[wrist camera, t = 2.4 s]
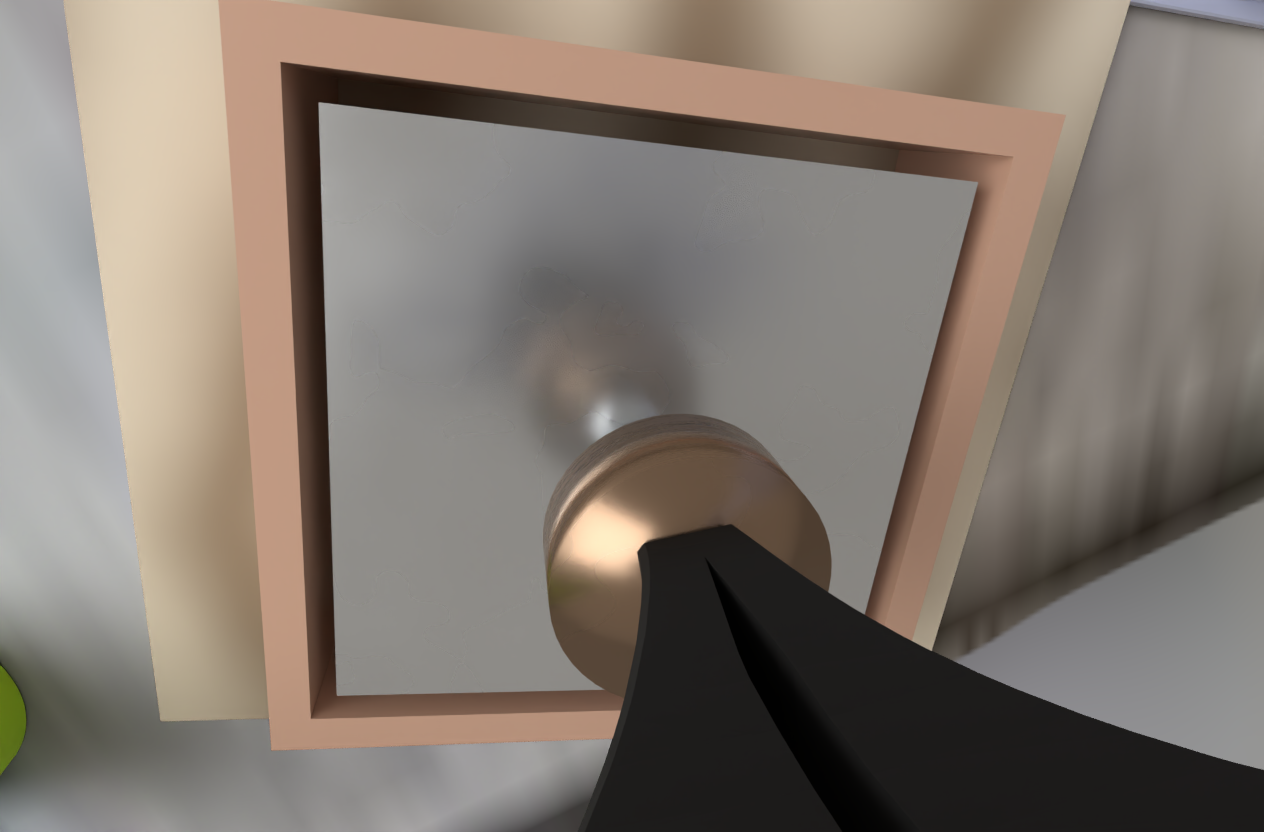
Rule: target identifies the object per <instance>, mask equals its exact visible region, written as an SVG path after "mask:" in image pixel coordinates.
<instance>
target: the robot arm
mask: <svg viewBox="0 0 1264 832" xmlns="http://www.w3.org/2000/svg"><path fill="white" fill-rule="evenodd" d="M1129 5H1132V6H1138V7H1143V8H1149V9H1155V10H1160V11H1166V12H1171V13H1177V14H1182V15H1188V16H1193V17H1199V18H1205V19H1210V20H1216V21H1221V22H1227V23H1232V24H1238V25H1243V26H1249V27H1255V28H1260V29H1264V0H1131V1H1130V4H1129ZM637 555H638V561H639V567H640V573H641V579H642V593H641V608H640V616H639V624H638V633H637V640H636V646H635V652H634V656H633V661H632V666H631V670H630V675H629V679H628V684H627V689H626V693H625V697H624V701H623V705H622V708H621V712H620V716H619V719H618V723H617V726H616V729H615V733H614V736H613V739H612V742H611V745H610V748H609V751H608V754H607V757H606V760H605V763H604V766H603V769H602V771H601V774H600V776H599V779H598V782H597V784H596V787H595V790H594V792H593V795H592V797H591V800H590V803H589V805H588V808H587V810H586V813H585V815H584V818H583V820H582V823H581V825H580V827H579V830H578V832H1264V770H1261V769H1257V768H1253V767H1250V766H1246V765H1241V764H1238V763H1233V762H1230V761H1227V760H1223V759H1220V758H1216V757H1213V756H1209V755H1206V754H1203V753H1199V752H1196V751H1193V750H1190V749H1187V748H1183V747H1180V746H1177V745H1173V744H1170V743H1167V742H1164V741H1160V740H1157V739H1154V738H1151V737H1147V736H1145V735H1141V734H1138V733H1134V732H1132V731H1129V730H1126V729H1123V728H1120V727H1117V726H1114V725H1111V724H1108V723H1105V722H1103V721H1100V720H1097V719H1094V718H1091V717H1088V716H1085V715H1082V714H1080V713H1077V712H1074V711H1072V710H1069V709H1067V708H1064V707H1061V706H1059V705H1056V704H1054V703H1051V702H1048V701H1046V700H1043V699H1041V698H1038V697H1035V696H1033V695H1030V694H1028V693H1025V692H1023V691H1020V690H1017V689H1014V688H1012V687H1010V686H1008V685H1005V684H1003V683H1001V682H998V681H996V680H994V679H991V678H989V677H986V676H984V675H982V674H980V673H977V672H975V671H973V670H971V669H969V668H967V667H965V666H963V665H960V664H958V663H956V662H954V661H952V660H950V659H948V658H946V657H944V656H941V655H939V654H937V653H935V652H933V651H931V650H929V649H927V648H925V647H923V646H921V645H919V644H917V643H915V642H913V641H911V640H909V639H907V638H905V637H903V636H902V635H900V634H898V633H896V632H894V631H893V630H891V629H889V628H887V627H886V626H884V625H882V624H880V623H879V622H877V621H875V620H873V619H871V618H870V617H868V616H866V615H864V614H863V613H861V612H859V611H857V610H856V609H854V608H853V607H851V606H849V605H848V604H846V603H844V602H843V601H841V600H840V599H838V598H837V597H835V596H833V595H832V594H830V593H829V592H827V591H826V590H824V589H823V588H821V587H820V586H818V585H817V584H815V583H814V582H812V581H811V580H809V579H808V578H806V577H805V576H803V575H802V574H800V573H799V572H798V571H796V570H795V569H793V568H792V567H790V566H789V565H788V564H786V563H785V562H783V561H782V560H781V559H779V558H778V557H776V556H775V555H774V554H772V553H771V552H770V551H768V550H767V549H765V548H764V547H763V546H761V545H760V544H759V543H757V542H756V541H755V540H753V539H752V538H750V537H749V536H748V535H746V534H745V533H743V532H742V531H741V530H739V529H738V528H736V527H735V526H733V525H732V524H729V525H724V526H720V527H715V528H710V529H706V530H701V531H697V532H692V533H687V534H683V535H678V536H674V537H669V538H664V539H660V540H655V541H650V542H646V543H644V544H643V545H642V546H641V547H640V549H639V550H638V551H637Z"/></svg>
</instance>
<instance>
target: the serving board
mask: <svg viewBox="0 0 1264 832" xmlns="http://www.w3.org/2000/svg"><path fill="white" fill-rule="evenodd" d="M63 1H64V8H65V16H66V23H67V31H68V38H69V45H70V53H71V60H72V68H73V75H74V82H75V90H76V97H77V105H78V112H79V120H80V127H81V134H82V142H83V149H84V157H85V164H86V172H87V179H88V186H89V194H90V201H91V209H92V216H93V224H94V231H95V238H96V246H97V253H98V261H99V268H100V276H101V283H102V290H103V298H104V305H105V313H106V320H107V328H108V335H109V342H110V350H111V357H112V365H113V372H114V379H115V387H116V394H117V402H118V409H119V417H120V424H121V431H122V439H123V446H124V454H125V461H126V469H127V476H128V483H129V491H130V498H131V506H132V513H133V521H134V528H135V535H136V543H137V550H138V558H139V565H140V573H141V580H142V587H143V595H144V602H145V610H146V617H147V625H148V632H149V639H150V647H151V654H152V662H153V669H154V676H155V684H156V691H157V699H158V706H159V714H160V721H197V720H233V719H269V710H268V696H267V682H266V667H265V653H264V639H263V625H262V611H261V597H260V583H259V569H258V554H257V540H256V526H255V512H254V498H253V484H252V470H251V455H250V441H249V427H248V413H247V399H246V385H245V371H244V356H243V342H242V328H241V314H240V300H239V286H238V272H237V258H236V243H235V229H234V215H233V201H232V187H231V173H230V159H229V144H228V130H227V116H226V102H225V88H224V74H223V60H222V45H221V31H220V17H219V3H218V0H63ZM271 1H278V2H285V3H292V4H299V5H306V6H313V7H320V8H327V9H334V10H341V11H348V12H355V13H362V14H369V15H375V16H382V17H389V18H396V19H403V20H410V21H417V22H424V23H431V24H438V25H445V26H452V27H459V28H466V29H473V30H480V31H487V32H493V33H500V34H507V35H514V36H521V37H528V38H535V39H542V40H549V41H556V42H563V43H570V44H577V45H584V46H591V47H598V48H604V49H611V50H618V51H625V52H632V53H639V54H646V55H653V56H660V57H667V58H674V59H681V60H688V61H695V62H702V63H709V64H716V65H722V66H729V67H736V68H743V69H750V70H757V71H764V72H771V73H778V74H785V75H792V76H799V77H806V78H813V79H820V80H827V81H833V82H840V83H847V84H854V85H861V86H868V87H875V88H882V89H889V90H896V91H903V92H910V93H917V94H924V95H931V96H938V97H945V98H951V99H958V100H965V101H972V102H979V103H986V104H993V105H1000V106H1007V107H1014V108H1021V109H1028V110H1035V111H1042V112H1049V113H1056V114H1062V115H1066V117H1065V120H1064V124H1063V127H1062V130H1061V134H1060V137H1059V141H1058V144H1057V147H1056V151H1055V154H1054V158H1053V161H1052V165H1051V168H1050V171H1049V175H1048V178H1047V182H1046V185H1045V188H1044V192H1043V195H1042V199H1041V202H1040V205H1039V209H1038V212H1037V216H1036V219H1035V223H1034V226H1033V229H1032V233H1031V236H1030V240H1029V243H1028V246H1027V250H1026V253H1025V257H1024V260H1023V263H1022V267H1021V270H1020V274H1019V277H1018V281H1017V284H1016V287H1015V291H1014V294H1013V298H1012V301H1011V304H1010V308H1009V311H1008V315H1007V318H1006V321H1005V325H1004V328H1003V332H1002V335H1001V339H1000V342H999V345H998V349H997V352H996V356H995V359H994V362H993V366H992V369H991V373H990V376H989V379H988V383H987V386H986V390H985V393H984V397H983V400H982V403H981V407H980V410H979V414H978V417H977V420H976V424H975V427H974V431H973V434H972V437H971V441H970V444H969V448H968V451H967V455H966V458H965V461H964V465H963V468H962V472H961V475H960V478H959V482H958V485H957V489H956V492H955V495H954V499H953V502H952V506H951V509H950V513H949V516H948V519H947V523H946V526H945V530H944V533H943V536H942V540H941V543H940V547H939V550H938V553H937V557H936V560H935V564H934V567H933V571H932V574H931V577H930V581H929V584H928V588H927V591H926V594H925V598H924V601H923V605H922V608H921V611H920V615H919V618H918V622H917V625H916V628H915V632H914V635H913V639H912V641H913V642H915V643H917V644H919V645H921V646H923V647H925V648H927V649H929V650H931V651H932V648H933V645H934V641H935V638H936V635H937V632H938V628H939V625H940V622H941V618H942V615H943V612H944V609H945V605H946V602H947V599H948V596H949V592H950V589H951V586H952V583H953V579H954V576H955V573H956V569H957V566H958V563H959V560H960V556H961V553H962V550H963V547H964V543H965V540H966V537H967V533H968V530H969V527H970V524H971V520H972V517H973V514H974V511H975V507H976V504H977V501H978V498H979V494H980V491H981V488H982V484H983V481H984V478H985V475H986V471H987V468H988V465H989V462H990V458H991V455H992V452H993V449H994V445H995V442H996V439H997V435H998V432H999V429H1000V426H1001V422H1002V419H1003V416H1004V413H1005V409H1006V406H1007V403H1008V399H1009V396H1010V393H1011V390H1012V386H1013V383H1014V380H1015V377H1016V373H1017V370H1018V367H1019V364H1020V360H1021V357H1022V354H1023V350H1024V347H1025V344H1026V341H1027V337H1028V334H1029V331H1030V328H1031V324H1032V321H1033V318H1034V314H1035V311H1036V308H1037V305H1038V301H1039V298H1040V295H1041V292H1042V288H1043V285H1044V282H1045V279H1046V275H1047V272H1048V269H1049V265H1050V262H1051V259H1052V256H1053V252H1054V249H1055V246H1056V243H1057V239H1058V236H1059V233H1060V230H1061V226H1062V223H1063V220H1064V216H1065V213H1066V210H1067V207H1068V203H1069V200H1070V197H1071V194H1072V190H1073V187H1074V184H1075V180H1076V177H1077V174H1078V171H1079V167H1080V164H1081V161H1082V158H1083V154H1084V151H1085V148H1086V145H1087V141H1088V138H1089V135H1090V131H1091V128H1092V125H1093V122H1094V118H1095V115H1096V112H1097V109H1098V105H1099V102H1100V99H1101V95H1102V92H1103V89H1104V86H1105V82H1106V79H1107V76H1108V73H1109V69H1110V66H1111V63H1112V60H1113V56H1114V53H1115V50H1116V46H1117V43H1118V40H1119V37H1120V33H1121V30H1122V27H1123V24H1124V20H1125V17H1126V14H1127V10H1128V7H1129V4H1130V1H1131V0H271ZM338 105H345V106H353V107H362V108H370V109H378V110H386V111H395V112H403V113H411V114H419V115H428V116H436V117H444V118H452V119H461V120H469V121H477V122H485V123H494V124H502V125H510V126H518V127H527V128H535V129H543V130H551V131H560V132H568V133H576V134H584V135H593V136H601V137H609V138H617V139H626V140H634V141H642V142H650V143H659V144H667V145H675V146H684V147H692V148H700V149H708V150H717V151H725V152H733V153H741V154H750V155H758V156H766V157H774V158H783V159H791V160H799V161H807V162H816V163H824V164H832V165H840V166H849V167H857V168H865V169H873V170H882V171H890V172H895V168H896V163H897V159H898V154H899V150H896V149H888V148H881V147H873V146H865V145H857V144H849V143H841V142H834V141H826V140H818V139H810V138H802V137H794V136H786V135H779V134H771V133H763V132H755V131H747V130H739V129H732V128H724V127H716V126H708V125H700V124H692V123H685V122H677V121H669V120H661V119H653V118H645V117H637V116H630V115H622V114H614V113H606V112H598V111H590V110H583V109H575V108H567V107H559V106H551V105H543V104H536V103H528V102H520V101H512V100H504V99H496V98H488V97H481V96H473V95H465V94H457V93H449V92H441V91H434V90H426V89H418V88H410V87H402V86H394V85H387V84H379V83H371V82H363V81H355V80H347V79H340V78H338Z"/></svg>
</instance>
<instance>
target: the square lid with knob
mask: <svg viewBox="0 0 1264 832" xmlns="http://www.w3.org/2000/svg"><path fill="white" fill-rule="evenodd" d="M319 135H320V167H321V200H322V233H323V265H324V298H325V330H326V363H327V396H328V428H329V461H330V494H331V526H332V559H333V591H334V624H335V657H336V689H337V696H348V695H392V694H437V693H481V692H525V691H570V690H606V691H608V692H610V693H612V694H615V695H617V696H620V697H622V698H624V697H625V693H626V689H627V684H628V679H629V675H630V670H631V666H632V661H633V656H634V652H635V646H636V640H637V633H638V624H639V616H640V608H641V593H642V579H641V573H640V567H639V561H638V555H637V551H638V550H639V549H640V547H641V546H642V545H643V544H644V543H646V542H650V541H655V540H660V539H664V538H669V537H674V536H678V535H683V534H687V533H692V532H697V531H701V530H706V529H710V528H715V527H720V526H724V525H729V524H732V525H733V526H735V527H736V528H738V529H739V530H741V531H742V532H743V533H745V534H746V535H748V536H749V537H750V538H752V539H753V540H755V541H756V542H757V543H759V544H760V545H761V546H763V547H764V548H765V549H767V550H768V551H770V552H771V553H772V554H774V555H775V556H776V557H778V558H779V559H781V560H782V561H783V562H785V563H786V564H788V565H789V566H790V567H792V568H793V569H795V570H796V571H798V572H799V573H800V574H802V575H803V576H805V577H806V578H808V579H809V580H811V581H812V582H814V583H815V584H817V585H818V586H820V587H821V588H823V589H824V590H826V591H827V592H829V593H830V594H832V595H833V596H835V597H837V598H838V599H840V600H841V601H843V602H844V603H846V604H848V605H849V606H851V607H853V608H854V609H856V610H857V611H859V612H861V613H863V614H864V615H865V611H866V608H867V604H868V600H869V596H870V592H871V589H872V585H873V581H874V577H875V573H876V570H877V566H878V562H879V558H880V554H881V551H882V547H883V543H884V539H885V535H886V532H887V528H888V524H889V520H890V516H891V513H892V509H893V505H894V501H895V497H896V493H897V490H898V486H899V482H900V478H901V474H902V471H903V467H904V463H905V459H906V455H907V452H908V448H909V444H910V440H911V436H912V433H913V429H914V425H915V421H916V417H917V414H918V410H919V406H920V402H921V398H922V395H923V391H924V387H925V383H926V379H927V376H928V372H929V368H930V364H931V360H932V356H933V353H934V349H935V345H936V341H937V337H938V334H939V330H940V326H941V322H942V318H943V315H944V311H945V307H946V303H947V299H948V296H949V292H950V288H951V284H952V280H953V277H954V273H955V269H956V265H957V261H958V258H959V254H960V250H961V246H962V242H963V239H964V235H965V231H966V227H967V223H968V219H969V216H970V212H971V208H972V204H973V200H974V197H975V193H976V189H977V185H978V182H972V181H964V180H956V179H948V178H939V177H931V176H923V175H915V174H906V173H898V172H890V171H882V170H873V169H865V168H857V167H849V166H840V165H832V164H824V163H816V162H807V161H799V160H791V159H783V158H774V157H766V156H758V155H750V154H741V153H733V152H725V151H717V150H708V149H700V148H692V147H684V146H675V145H667V144H659V143H650V142H642V141H634V140H626V139H617V138H609V137H601V136H593V135H584V134H576V133H568V132H560V131H551V130H543V129H535V128H527V127H518V126H510V125H502V124H494V123H485V122H477V121H469V120H461V119H452V118H444V117H436V116H428V115H419V114H411V113H403V112H395V111H386V110H378V109H370V108H362V107H353V106H345V105H337V104H329V103H320V102H319Z"/></svg>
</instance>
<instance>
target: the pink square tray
mask: <svg viewBox="0 0 1264 832" xmlns="http://www.w3.org/2000/svg"><path fill="white" fill-rule="evenodd" d="M218 3H219V17H220V31H221V45H222V60H223V74H224V88H225V102H226V116H227V130H228V144H229V159H230V173H231V187H232V201H233V215H234V229H235V243H236V258H237V272H238V286H239V300H240V314H241V328H242V342H243V356H244V371H245V385H246V399H247V413H248V427H249V441H250V455H251V470H252V484H253V498H254V512H255V526H256V540H257V554H258V569H259V583H260V597H261V611H262V625H263V639H264V653H265V667H266V682H267V696H268V710H269V724H270V738H271V751H275V750H303V749H332V748H360V747H388V746H417V745H445V744H473V743H502V742H530V741H558V740H587V739H613V736H614V733H615V729H616V726H617V723H618V719H619V716H620V712H621V708H622V705H623V701H624V698H622V697H620V696H617V695H615V694H612V693H610V692H608V691H606V690H570V691H525V692H481V693H437V694H392V695H348V696H337V689H336V657H335V624H334V591H333V559H332V526H331V494H330V461H329V428H328V396H327V363H326V330H325V298H324V265H323V233H322V200H321V167H320V135H319V102H320V103H329V104H337V105H338V78H340V79H347V80H355V81H363V82H371V83H379V84H387V85H394V86H402V87H410V88H418V89H426V90H434V91H441V92H449V93H457V94H465V95H473V96H481V97H488V98H496V99H504V100H512V101H520V102H528V103H536V104H543V105H551V106H559V107H567V108H575V109H583V110H590V111H598V112H606V113H614V114H622V115H630V116H637V117H645V118H653V119H661V120H669V121H677V122H685V123H692V124H700V125H708V126H716V127H724V128H732V129H739V130H747V131H755V132H763V133H771V134H779V135H786V136H794V137H802V138H810V139H818V140H826V141H834V142H841V143H849V144H857V145H865V146H873V147H881V148H888V149H896V150H899V154H898V159H897V163H896V168H895V172H898V173H906V174H915V175H923V176H931V177H939V178H948V179H956V180H964V181H972V182H978V185H977V189H976V193H975V197H974V200H973V204H972V208H971V212H970V216H969V219H968V223H967V227H966V231H965V235H964V239H963V242H962V246H961V250H960V254H959V258H958V261H957V265H956V269H955V273H954V277H953V280H952V284H951V288H950V292H949V296H948V299H947V303H946V307H945V311H944V315H943V318H942V322H941V326H940V330H939V334H938V337H937V341H936V345H935V349H934V353H933V356H932V360H931V364H930V368H929V372H928V376H927V379H926V383H925V387H924V391H923V395H922V398H921V402H920V406H919V410H918V414H917V417H916V421H915V425H914V429H913V433H912V436H911V440H910V444H909V448H908V452H907V455H906V459H905V463H904V467H903V471H902V474H901V478H900V482H899V486H898V490H897V493H896V497H895V501H894V505H893V509H892V513H891V516H890V520H889V524H888V528H887V532H886V535H885V539H884V543H883V547H882V551H881V554H880V558H879V562H878V566H877V570H876V573H875V577H874V581H873V585H872V589H871V592H870V596H869V600H868V604H867V608H866V611H865V615H866V616H868V617H870V618H871V619H873V620H875V621H877V622H879V623H880V624H882V625H884V626H886V627H887V628H889V629H891V630H893V631H894V632H896V633H898V634H900V635H902V636H903V637H905V638H907V639H909V640H911V641H912V639H913V635H914V632H915V628H916V625H917V622H918V618H919V615H920V611H921V608H922V605H923V601H924V598H925V594H926V591H927V588H928V584H929V581H930V577H931V574H932V571H933V567H934V564H935V560H936V557H937V553H938V550H939V547H940V543H941V540H942V536H943V533H944V530H945V526H946V523H947V519H948V516H949V513H950V509H951V506H952V502H953V499H954V495H955V492H956V489H957V485H958V482H959V478H960V475H961V472H962V468H963V465H964V461H965V458H966V455H967V451H968V448H969V444H970V441H971V437H972V434H973V431H974V427H975V424H976V420H977V417H978V414H979V410H980V407H981V403H982V400H983V397H984V393H985V390H986V386H987V383H988V379H989V376H990V373H991V369H992V366H993V362H994V359H995V356H996V352H997V349H998V345H999V342H1000V339H1001V335H1002V332H1003V328H1004V325H1005V321H1006V318H1007V315H1008V311H1009V308H1010V304H1011V301H1012V298H1013V294H1014V291H1015V287H1016V284H1017V281H1018V277H1019V274H1020V270H1021V267H1022V263H1023V260H1024V257H1025V253H1026V250H1027V246H1028V243H1029V240H1030V236H1031V233H1032V229H1033V226H1034V223H1035V219H1036V216H1037V212H1038V209H1039V205H1040V202H1041V199H1042V195H1043V192H1044V188H1045V185H1046V182H1047V178H1048V175H1049V171H1050V168H1051V165H1052V161H1053V158H1054V154H1055V151H1056V147H1057V144H1058V141H1059V137H1060V134H1061V130H1062V127H1063V124H1064V120H1065V117H1066V115H1062V114H1056V113H1049V112H1042V111H1035V110H1028V109H1021V108H1014V107H1007V106H1000V105H993V104H986V103H979V102H972V101H965V100H958V99H951V98H945V97H938V96H931V95H924V94H917V93H910V92H903V91H896V90H889V89H882V88H875V87H868V86H861V85H854V84H847V83H840V82H833V81H827V80H820V79H813V78H806V77H799V76H792V75H785V74H778V73H771V72H764V71H757V70H750V69H743V68H736V67H729V66H722V65H716V64H709V63H702V62H695V61H688V60H681V59H674V58H667V57H660V56H653V55H646V54H639V53H632V52H625V51H618V50H611V49H604V48H598V47H591V46H584V45H577V44H570V43H563V42H556V41H549V40H542V39H535V38H528V37H521V36H514V35H507V34H500V33H493V32H487V31H480V30H473V29H466V28H459V27H452V26H445V25H438V24H431V23H424V22H417V21H410V20H403V19H396V18H389V17H382V16H375V15H369V14H362V13H355V12H348V11H341V10H334V9H327V8H320V7H313V6H306V5H299V4H292V3H285V2H278V1H271V0H218Z"/></svg>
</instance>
